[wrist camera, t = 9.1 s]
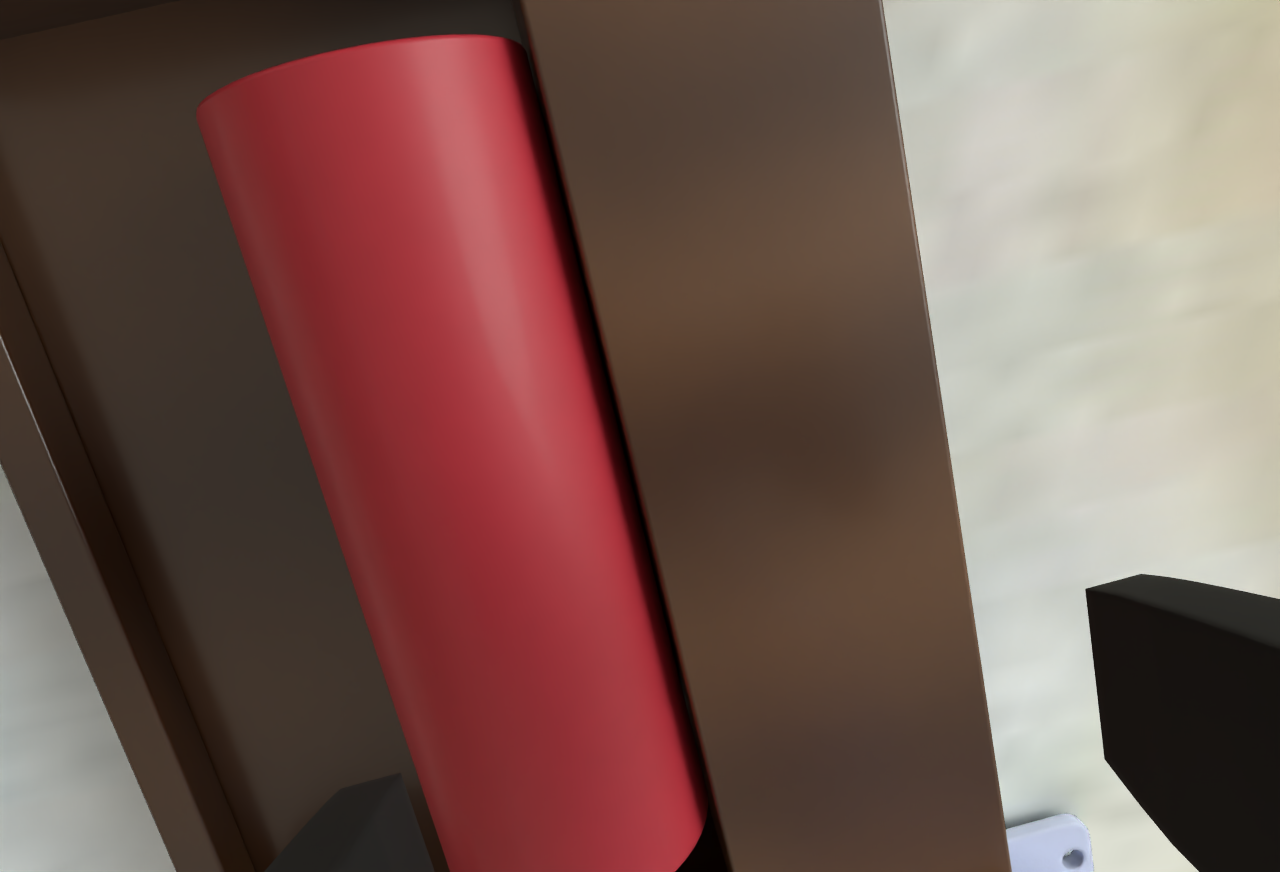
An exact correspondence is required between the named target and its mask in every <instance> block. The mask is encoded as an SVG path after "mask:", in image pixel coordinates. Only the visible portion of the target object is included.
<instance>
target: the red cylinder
mask: <svg viewBox="0 0 1280 872" xmlns="http://www.w3.org/2000/svg"><path fill="white" fill-rule="evenodd" d="M196 119H197V122H198V125H199V128H200V131H201V134H202V137H203V140H204V143H205V146H206V149H207V152H208V155H209V158H210V161H211V164H212V167H213V170H214V173H215V176H216V179H217V182H218V185H219V187H220V190H221V193H222V196H223V199H224V202H225V205H226V208H227V211H228V214H229V217H230V220H231V223H232V226H233V229H234V232H235V235H236V238H237V241H238V244H239V247H240V250H241V253H242V256H243V259H244V262H245V265H246V268H247V271H248V274H249V276H250V279H251V282H252V285H253V288H254V291H255V294H256V297H257V300H258V303H259V306H260V309H261V312H262V315H263V318H264V321H265V324H266V327H267V330H268V333H269V336H270V339H271V342H272V345H273V348H274V351H275V354H276V357H277V360H278V363H279V365H280V368H281V371H282V374H283V377H284V380H285V383H286V386H287V389H288V392H289V395H290V398H291V401H292V404H293V407H294V410H295V413H296V416H297V419H298V422H299V425H300V428H301V431H302V434H303V437H304V440H305V443H306V446H307V449H308V452H309V454H310V457H311V460H312V463H313V466H314V469H315V472H316V475H317V478H318V481H319V484H320V487H321V490H322V493H323V496H324V499H325V502H326V505H327V508H328V511H329V514H330V517H331V520H332V523H333V526H334V529H335V532H336V535H337V538H338V541H339V544H340V546H341V549H342V552H343V555H344V558H345V561H346V564H347V567H348V570H349V573H350V576H351V579H352V582H353V585H354V588H355V591H356V594H357V597H358V600H359V603H360V606H361V609H362V612H363V615H364V618H365V621H366V624H367V627H368V630H369V633H370V635H371V638H372V641H373V644H374V647H375V650H376V653H377V656H378V659H379V662H380V665H381V668H382V671H383V674H384V677H385V680H386V683H387V686H388V689H389V692H390V695H391V698H392V701H393V704H394V707H395V710H396V713H397V716H398V719H399V722H400V724H401V727H402V730H403V733H404V736H405V739H406V742H407V745H408V748H409V751H410V754H411V757H412V760H413V763H414V766H415V769H416V772H417V775H418V778H419V781H420V784H421V787H422V790H423V793H424V796H425V799H426V802H427V805H428V808H429V811H430V814H431V816H432V819H433V822H434V825H435V828H436V831H437V834H438V837H439V840H440V843H441V846H442V849H443V852H444V855H445V858H446V861H447V864H448V867H449V870H450V872H675V871H676V870H677V869H678V868H679V867H680V866H681V865H682V864H683V862H684V861H685V860H686V859H687V857H688V856H689V855H690V853H691V852H692V850H693V849H694V847H695V846H696V844H697V842H698V840H699V838H700V836H701V834H702V831H703V828H704V825H705V822H706V818H707V811H708V793H707V789H706V784H705V780H704V776H703V772H702V768H701V764H700V760H699V756H698V752H697V748H696V744H695V739H694V735H693V731H692V727H691V723H690V719H689V715H688V711H687V707H686V703H685V699H684V694H683V690H682V686H681V682H680V678H679V674H678V670H677V666H676V662H675V658H674V653H673V649H672V645H671V641H670V637H669V633H668V629H667V625H666V621H665V617H664V613H663V608H662V604H661V600H660V596H659V592H658V588H657V584H656V580H655V576H654V572H653V567H652V563H651V559H650V555H649V551H648V547H647V543H646V539H645V535H644V531H643V527H642V522H641V518H640V514H639V510H638V506H637V502H636V498H635V494H634V490H633V486H632V482H631V477H630V473H629V469H628V465H627V461H626V457H625V453H624V449H623V445H622V441H621V436H620V432H619V428H618V424H617V420H616V416H615V412H614V408H613V404H612V400H611V396H610V391H609V387H608V383H607V379H606V375H605V371H604V367H603V363H602V359H601V355H600V351H599V346H598V342H597V338H596V334H595V330H594V326H593V322H592V318H591V314H590V310H589V305H588V301H587V297H586V293H585V289H584V285H583V281H582V277H581V273H580V269H579V265H578V260H577V256H576V252H575V248H574V244H573V240H572V236H571V232H570V228H569V224H568V220H567V215H566V211H565V207H564V203H563V199H562V195H561V191H560V187H559V183H558V179H557V174H556V170H555V166H554V162H553V158H552V154H551V150H550V146H549V142H548V138H547V134H546V129H545V125H544V121H543V117H542V113H541V109H540V105H539V101H538V97H537V93H536V89H535V84H534V80H533V76H532V72H531V68H530V64H529V60H528V56H527V52H526V50H525V48H524V47H523V46H522V45H521V44H520V43H518V42H516V41H514V40H511V39H508V38H504V37H497V36H489V35H476V34H449V35H432V36H421V37H411V38H403V39H395V40H388V41H381V42H375V43H369V44H363V45H358V46H353V47H348V48H343V49H338V50H333V51H329V52H325V53H320V54H316V55H312V56H308V57H304V58H301V59H297V60H293V61H290V62H286V63H283V64H280V65H277V66H273V67H270V68H267V69H264V70H262V71H259V72H256V73H253V74H250V75H248V76H246V77H243V78H241V79H239V80H236V81H234V82H232V83H230V84H228V85H226V86H224V87H222V88H220V89H218V90H217V91H215V92H214V93H212V94H210V95H209V96H207V97H206V98H205V99H204V100H203V101H202V102H201V103H200V104H199V106H198V107H197V111H196Z"/></svg>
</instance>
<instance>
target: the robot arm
mask: <svg viewBox="0 0 1280 872" xmlns="http://www.w3.org/2000/svg"><path fill="white" fill-rule="evenodd" d="M1085 590H1086V599H1087V607H1088V616H1089V625H1090V634H1091V643H1092V652H1093V660H1094V669H1095V678H1096V687H1097V696H1098V705H1099V713H1100V722H1101V731H1102V740H1103V749H1104V757H1105V760H1106V761H1107V763H1108V764H1109V765H1110V767H1111V768H1112V769H1113V771H1114V772H1115V773H1116V774H1117V776H1118V777H1119V778H1120V780H1121V781H1122V782H1123V784H1124V785H1125V786H1126V787H1127V789H1128V790H1129V791H1130V793H1131V794H1132V795H1133V797H1134V798H1135V799H1136V800H1137V802H1138V803H1139V804H1140V806H1141V807H1142V808H1143V809H1144V810H1145V812H1146V813H1147V814H1148V815H1149V817H1150V818H1151V819H1152V820H1153V821H1154V823H1155V824H1156V825H1157V826H1158V827H1159V829H1160V830H1161V831H1162V832H1163V833H1164V835H1165V836H1166V837H1167V838H1168V840H1169V841H1170V842H1171V843H1172V844H1173V845H1174V846H1175V847H1176V848H1177V850H1178V851H1179V852H1180V853H1181V854H1182V855H1183V856H1184V857H1185V858H1186V859H1187V860H1188V861H1189V862H1190V863H1191V864H1192V865H1193V866H1194V867H1195V868H1196V869H1197V870H1198V871H1199V872H1280V599H1276V598H1271V597H1267V596H1262V595H1257V594H1253V593H1248V592H1244V591H1239V590H1234V589H1229V588H1224V587H1219V586H1214V585H1209V584H1204V583H1199V582H1194V581H1188V580H1182V579H1176V578H1170V577H1163V576H1155V575H1146V574H1140V575H1136V576H1132V577H1128V578H1125V579H1121V580H1117V581H1113V582H1110V583H1106V584H1102V585H1098V586H1095V587H1091V588H1087V589H1085ZM1006 835H1007V842H1008V848H1009V855H1010V862H1011V868H1012V872H1094V865H1093V857H1092V849H1091V841H1090V834H1089V831H1088V828H1087V827H1086V826H1085V825H1084V824H1083V823H1082V822H1081V821H1080V820H1079V819H1078V818H1077V817H1076V816H1075V815H1072V814H1068V813H1065V814H1058V815H1055V816H1051V817H1048V818H1044V819H1041V820H1037V821H1033V822H1030V823H1026V824H1023V825H1019V826H1016V827H1012V828H1008V829H1006ZM1071 850H1073V851H1072V852H1071V853H1070V855H1068V856H1066V857H1064V855H1065V854H1066V853H1067V852H1069V851H1071ZM264 872H435V871H434V868H433V865H432V862H431V859H430V857H429V854H428V851H427V848H426V845H425V842H424V839H423V836H422V833H421V830H420V827H419V825H418V822H417V819H416V816H415V813H414V810H413V807H412V804H411V801H410V798H409V795H408V793H407V790H406V787H405V784H404V781H403V778H402V775H401V773H397V774H393V775H389V776H386V777H382V778H378V779H374V780H371V781H367V782H363V783H359V784H356V785H352V786H348V787H345V788H341V789H340V790H338V791H337V792H336V793H335V794H334V795H333V796H332V797H331V798H330V799H329V800H328V801H327V802H326V803H325V804H324V805H323V806H322V807H321V808H320V809H319V811H318V812H317V813H316V814H315V815H314V816H313V817H312V818H311V819H310V820H309V821H308V823H307V824H306V825H305V826H304V827H303V828H302V829H301V830H300V831H299V833H298V834H297V835H296V836H295V837H294V838H293V839H292V840H291V842H290V843H289V844H288V845H287V846H286V847H285V848H284V850H283V851H282V852H281V853H280V854H279V855H278V856H277V857H276V859H275V860H274V861H273V862H272V863H271V864H270V865H269V867H268V868H267V869H266V870H265V871H264Z"/></svg>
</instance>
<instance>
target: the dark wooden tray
mask: <svg viewBox="0 0 1280 872" xmlns="http://www.w3.org/2000/svg"><path fill="white" fill-rule="evenodd" d="M449 34H476V35H489V36H497V37H504V38H508V39H511V40H514V41H516V42H518V43H520V44H521V45H522V46H523V47H524V48H525V50H526V52H527V56H528V60H529V64H530V68H531V72H532V76H533V80H534V84H535V89H536V93H537V97H538V101H539V105H540V109H541V113H542V117H543V121H544V125H545V129H546V134H547V138H548V142H549V146H550V150H551V154H552V158H553V162H554V166H555V170H556V174H557V179H558V183H559V187H560V191H561V195H562V199H563V203H564V207H565V211H566V215H567V220H568V224H569V228H570V232H571V236H572V240H573V244H574V248H575V252H576V256H577V260H578V265H579V269H580V273H581V277H582V281H583V285H584V289H585V293H586V297H587V301H588V305H589V310H590V314H591V318H592V322H593V326H594V330H595V334H596V338H597V342H598V346H599V351H600V355H601V359H602V363H603V367H604V371H605V375H606V379H607V383H608V387H609V391H610V396H611V400H612V404H613V408H614V412H615V416H616V420H617V424H618V428H619V432H620V436H621V441H622V445H623V449H624V453H625V457H626V461H627V465H628V469H629V473H630V477H631V482H632V486H633V490H634V494H635V498H636V502H637V506H638V510H639V514H640V518H641V522H642V527H643V531H644V535H645V539H646V543H647V547H648V551H649V555H650V559H651V563H652V567H653V572H654V576H655V580H656V584H657V588H658V592H659V596H660V600H661V604H662V608H663V613H664V617H665V621H666V625H667V629H668V633H669V637H670V641H671V645H672V649H673V653H674V658H675V662H676V666H677V670H678V674H679V678H680V682H681V686H682V690H683V694H684V699H685V703H686V707H687V711H688V715H689V719H690V723H691V727H692V731H693V735H694V739H695V744H696V748H697V752H698V756H699V760H700V764H701V768H702V772H703V776H704V780H705V784H706V789H707V793H708V811H707V818H706V822H705V825H704V828H703V831H702V834H701V836H700V838H699V840H698V842H697V844H696V846H695V847H694V849H693V850H692V852H691V853H690V855H689V856H688V857H687V859H686V860H685V861H684V862H683V864H682V865H681V866H680V867H679V868H678V869H677V870H676V871H675V872H1012V868H1011V862H1010V855H1009V848H1008V842H1007V835H1006V828H1005V821H1004V815H1003V808H1002V801H1001V795H1000V788H999V781H998V774H997V768H996V761H995V754H994V747H993V741H992V734H991V727H990V721H989V714H988V707H987V700H986V694H985V687H984V680H983V674H982V667H981V660H980V653H979V647H978V640H977V633H976V627H975V620H974V613H973V606H972V600H971V593H970V586H969V580H968V573H967V566H966V559H965V553H964V546H963V539H962V533H961V526H960V519H959V512H958V506H957V499H956V492H955V486H954V479H953V472H952V465H951V459H950V452H949V445H948V439H947V432H946V425H945V418H944V412H943V405H942V398H941V392H940V385H939V378H938V371H937V365H936V358H935V351H934V345H933V338H932V331H931V324H930V318H929V311H928V304H927V298H926V291H925V284H924V277H923V271H922V264H921V257H920V251H919V244H918V237H917V230H916V224H915V217H914V210H913V204H912V197H911V190H910V183H909V177H908V170H907V163H906V157H905V150H904V143H903V136H902V130H901V123H900V116H899V110H898V103H897V96H896V89H895V83H894V76H893V69H892V63H891V56H890V49H889V42H888V36H887V29H886V22H885V16H884V9H883V2H882V0H0V464H1V466H2V469H3V471H4V473H5V476H6V478H7V480H8V483H9V485H10V487H11V490H12V492H13V494H14V497H15V499H16V501H17V504H18V506H19V508H20V510H21V513H22V515H23V517H24V520H25V522H26V524H27V527H28V529H29V531H30V534H31V536H32V538H33V541H34V543H35V545H36V548H37V550H38V552H39V555H40V557H41V559H42V562H43V564H44V566H45V568H46V571H47V573H48V575H49V578H50V580H51V582H52V585H53V587H54V589H55V592H56V594H57V596H58V599H59V601H60V603H61V606H62V608H63V610H64V613H65V615H66V617H67V619H68V622H69V624H70V626H71V629H72V631H73V633H74V636H75V638H76V640H77V643H78V645H79V647H80V650H81V652H82V654H83V657H84V659H85V661H86V664H87V666H88V668H89V670H90V673H91V675H92V677H93V680H94V682H95V684H96V687H97V689H98V691H99V694H100V696H101V698H102V701H103V703H104V705H105V708H106V710H107V712H108V715H109V717H110V719H111V722H112V724H113V726H114V728H115V731H116V733H117V735H118V738H119V740H120V742H121V745H122V747H123V749H124V752H125V754H126V756H127V759H128V761H129V763H130V766H131V768H132V770H133V773H134V775H135V777H136V779H137V782H138V784H139V786H140V789H141V791H142V793H143V796H144V798H145V800H146V803H147V805H148V807H149V810H150V812H151V814H152V817H153V819H154V821H155V824H156V826H157V828H158V831H159V833H160V835H161V837H162V840H163V842H164V844H165V847H166V849H167V851H168V854H169V856H170V858H171V861H172V863H173V865H174V868H175V870H176V872H264V871H265V870H266V869H267V868H268V867H269V865H270V864H271V863H272V862H273V861H274V860H275V859H276V857H277V856H278V855H279V854H280V853H281V852H282V851H283V850H284V848H285V847H286V846H287V845H288V844H289V843H290V842H291V840H292V839H293V838H294V837H295V836H296V835H297V834H298V833H299V831H300V830H301V829H302V828H303V827H304V826H305V825H306V824H307V823H308V821H309V820H310V819H311V818H312V817H313V816H314V815H315V814H316V813H317V812H318V811H319V809H320V808H321V807H322V806H323V805H324V804H325V803H326V802H327V801H328V800H329V799H330V798H331V797H332V796H333V795H334V794H335V793H336V792H337V791H338V790H340V789H341V788H345V787H348V786H352V785H356V784H359V783H363V782H367V781H371V780H374V779H378V778H382V777H386V776H389V775H393V774H397V773H401V775H402V778H403V781H404V784H405V787H406V790H407V793H408V795H409V798H410V801H411V804H412V807H413V810H414V813H415V816H416V819H417V822H418V825H419V827H420V830H421V833H422V836H423V839H424V842H425V845H426V848H427V851H428V854H429V857H430V859H431V862H432V865H433V868H434V871H435V872H450V870H449V867H448V864H447V861H446V858H445V855H444V852H443V849H442V846H441V843H440V840H439V837H438V834H437V831H436V828H435V825H434V822H433V819H432V816H431V814H430V811H429V808H428V805H427V802H426V799H425V796H424V793H423V790H422V787H421V784H420V781H419V778H418V775H417V772H416V769H415V766H414V763H413V760H412V757H411V754H410V751H409V748H408V745H407V742H406V739H405V736H404V733H403V730H402V727H401V724H400V722H399V719H398V716H397V713H396V710H395V707H394V704H393V701H392V698H391V695H390V692H389V689H388V686H387V683H386V680H385V677H384V674H383V671H382V668H381V665H380V662H379V659H378V656H377V653H376V650H375V647H374V644H373V641H372V638H371V635H370V633H369V630H368V627H367V624H366V621H365V618H364V615H363V612H362V609H361V606H360V603H359V600H358V597H357V594H356V591H355V588H354V585H353V582H352V579H351V576H350V573H349V570H348V567H347V564H346V561H345V558H344V555H343V552H342V549H341V546H340V544H339V541H338V538H337V535H336V532H335V529H334V526H333V523H332V520H331V517H330V514H329V511H328V508H327V505H326V502H325V499H324V496H323V493H322V490H321V487H320V484H319V481H318V478H317V475H316V472H315V469H314V466H313V463H312V460H311V457H310V454H309V452H308V449H307V446H306V443H305V440H304V437H303V434H302V431H301V428H300V425H299V422H298V419H297V416H296V413H295V410H294V407H293V404H292V401H291V398H290V395H289V392H288V389H287V386H286V383H285V380H284V377H283V374H282V371H281V368H280V365H279V363H278V360H277V357H276V354H275V351H274V348H273V345H272V342H271V339H270V336H269V333H268V330H267V327H266V324H265V321H264V318H263V315H262V312H261V309H260V306H259V303H258V300H257V297H256V294H255V291H254V288H253V285H252V282H251V279H250V276H249V274H248V271H247V268H246V265H245V262H244V259H243V256H242V253H241V250H240V247H239V244H238V241H237V238H236V235H235V232H234V229H233V226H232V223H231V220H230V217H229V214H228V211H227V208H226V205H225V202H224V199H223V196H222V193H221V190H220V187H219V185H218V182H217V179H216V176H215V173H214V170H213V167H212V164H211V161H210V158H209V155H208V152H207V149H206V146H205V143H204V140H203V137H202V134H201V131H200V128H199V125H198V122H197V119H196V111H197V107H198V106H199V104H200V103H201V102H202V101H203V100H204V99H205V98H206V97H207V96H209V95H210V94H212V93H214V92H215V91H217V90H218V89H220V88H222V87H224V86H226V85H228V84H230V83H232V82H234V81H236V80H239V79H241V78H243V77H246V76H248V75H250V74H253V73H256V72H259V71H262V70H264V69H267V68H270V67H273V66H277V65H280V64H283V63H286V62H290V61H293V60H297V59H301V58H304V57H308V56H312V55H316V54H320V53H325V52H329V51H333V50H338V49H343V48H348V47H353V46H358V45H363V44H369V43H375V42H381V41H388V40H395V39H403V38H411V37H421V36H432V35H449Z"/></svg>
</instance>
